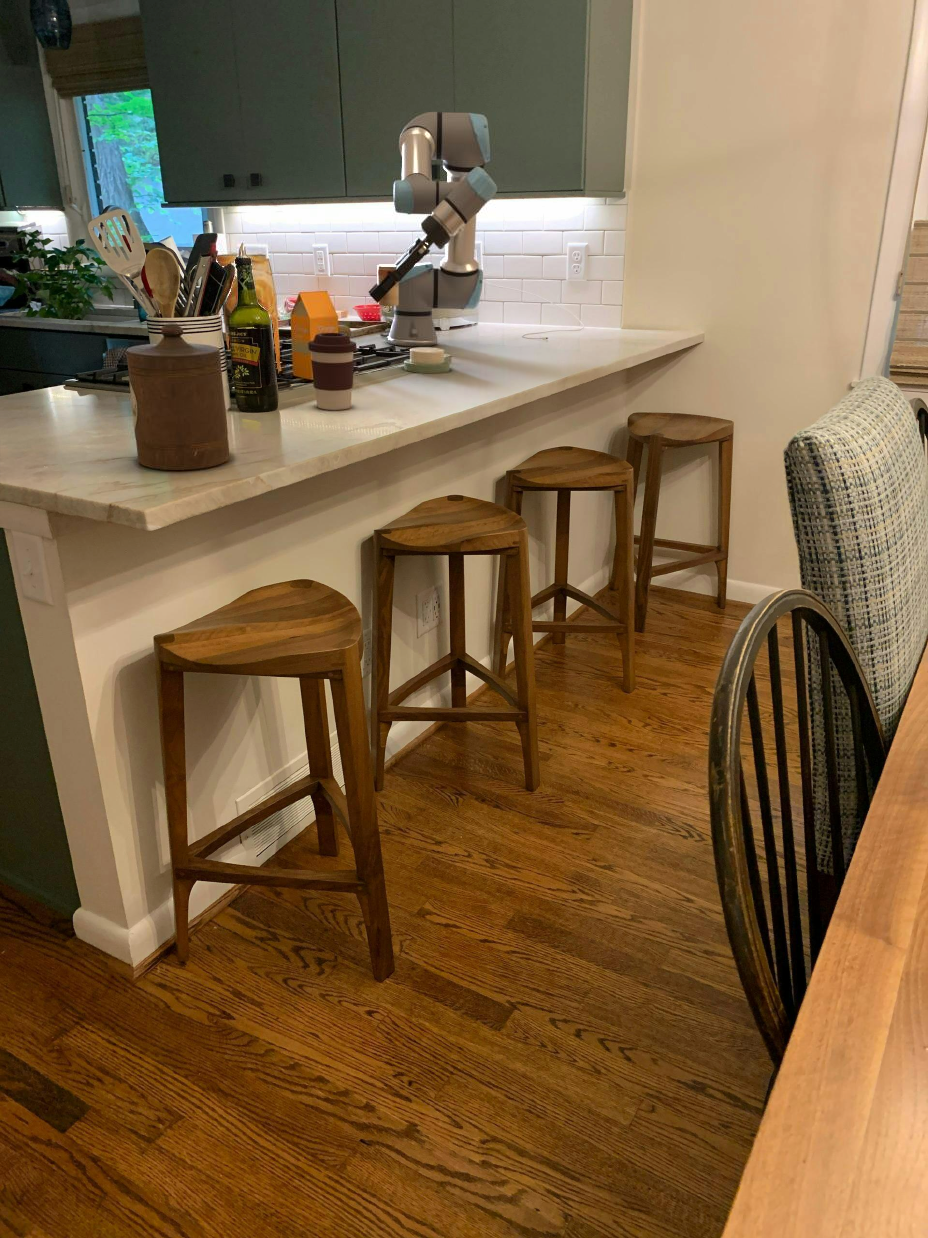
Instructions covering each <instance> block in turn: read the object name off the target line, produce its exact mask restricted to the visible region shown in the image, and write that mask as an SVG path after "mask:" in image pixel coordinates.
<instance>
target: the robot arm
mask: <svg viewBox="0 0 928 1238" xmlns="http://www.w3.org/2000/svg"><path fill="white" fill-rule="evenodd" d="M398 150H399V153H400V155H401V157H402V163H401V164H402V165H401V166H402V167H401V179H397V180H394V182H393V209H394V211H395V212H396V213H398V214H406V215H427V216H426V217H425V218H424V219H423V221H421V223H420V224H419V228H420V229H421V231H422V232H423V233H424V235H423V236H422V237H421V238H419V237H417V238H416V239H414V240H413V242H412V244H411V245H410V246H409V247H408V248H407V249H406V251H405V252H404V253H403V254H402V255H401V256H400V257H399V258H398V259H397V260H396V262H395V263H394V264H393V265H397V267H396V268H395V269H394V270H393V271H392V272H391V271H390V270H389V271H388V272H387V273H388V275H387V276H386V277H385V278H384V279H383V280H382V281H381V282H380V283H379V285H378V281H377V282H376V283H375V284H374V285H373V287H372V288H370V289H369V290H368V295H369V297H371V298H372V299H373V300H374V301H375V302H376V303H377V304H378V302H379V301H380V300H381V299H382V298H383V297H384V296H385V295H386V294H387V293H388V292H389V291H390V289H391V288H392V287H393V286H394V285H395V284H396V283H397V282H399V297H398V306H393V319H392V323H391V327H390V331H389V333H380V337H382V338H387V343H388V344H390V345H393V346H401V347H431V346H436V345H438V335H437V333H436V329H435V323H434V321H433V309H440V310H441V309H443V310H444V309H445V310H461V311H464V310H474V309H476V308H477V307H478V305H479V303H480V300H481V297H482V296H481V295H482V289H483V282H484V271H483V269H481V268H480V264H479V262H478V260H476V259H475V248H476V231H477V228H476V227H477V214H478V213H479V212H480V211H481V210H482V209H483V207H484V206H485V205H487V203H489V202H490V201H491V200H492V198H493V197H494V196H495V195H496V193H497V192H498V187H497V184H496V183H495V181H494V180H493V179H492V178H491V176H490V175H489V174H488V173H487V172H486V171H485V163H488V162H490V161H491V146H490V133H489V123H488V119H487V117H486V116H485V115H484V114H480V113H473V112H444V111H443V112H442V111H441V112H439V111H430V112H429V111H427V112H424V113H422V114H419V115H418V116H416V117H414V118H413V119H411V120H410V121H409V122H408V123H407V124H406V125H405V126H404V127H403V129H402V131H401V133H400V135H399V140H398ZM432 160H436V161H442V168H443V169H444V170H445V171H446V172H447V181H442V180H441V181H439V180H432V179H433V178H432V175H433V174H432V173H433V172H432V171H433V170H432ZM433 245H434V246H436V248H438V249H439V250H443V249H444V248H445V257H444V258H443V259H442V260H441V261H440V263H439V267H434V265H433V263H432V262H421V260H422V259H423V258H424V257H425V256H428V254H429V253H430V252H431V250H430V248H431V247H432V246H433ZM390 276H391V277H390Z"/></svg>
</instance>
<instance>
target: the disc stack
mask: <svg viewBox="0 0 928 1238" xmlns="http://www.w3.org/2000/svg"><path fill="white" fill-rule="evenodd" d="M403 364H404V365H403V366H404V367H403V370H405V371H407V372H411V373H417V374H418V373H420V374H441V373H447V372H450V366H451V365H450V364H451V363H450V361H449V360H448V359H447V360H446V359H445V349H443V348H438V347H430V346H418V347H412V348H410V349H409V358H408V359H404V361H403Z"/></svg>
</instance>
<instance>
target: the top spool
mask: <svg viewBox="0 0 928 1238" xmlns="http://www.w3.org/2000/svg"><path fill="white" fill-rule="evenodd" d="M396 267H397V265H394V264H378V265H377V270H376V271H377V272H376V275H377V282H378V285H379V283H380V282H381V281H382V280H383V279H384V278H385V277H386V276H387V275H388V273H387V272H388V271H389V270H390V271H391V272H392V271H393V270H394V269H395V268H396ZM390 277H391V276H390ZM398 297H399V282H397V283H396V284H395V285H394V286H393V287H392V288H391V289H390V291H389V292H388V293H387V294H386V295H385V296H384V297H383V298H382V299H381V300H380V301H379V302H378V303H377V305H378V306H382V307H394V306H398Z"/></svg>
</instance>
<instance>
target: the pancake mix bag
mask: <svg viewBox="0 0 928 1238" xmlns="http://www.w3.org/2000/svg"><path fill="white" fill-rule="evenodd" d="M238 254H239V253H231V254H229V253H228V254H227V253H226V254H217V261H218V263H219V264H220V265H221V266H227V265H228V264H230V263H234V261H235V259H236V257H237V255H238ZM245 255H246V256H247V257H248V258H250V259H251V260H252V270H253V277H254V282H255V289H256V295H257V300H258V303H259V304H260V305H261V306H262V307H264V308H265V309H266V311H267V312H268V313H269V314H270V316H271V320H272V324H273V333H274V342H275V353H276V361H277V368H278V373H277V374H280V372H281V371H282V366H281V358H280V357H281V352H280V336H279V335H280V334H279V333H280V332H279V312H278V302H277V294H276V287H275V282H274V277H273V271H272V267H271V262H270V258H267V255H266V254H263V253H262V254H259V253H258V254H245ZM237 302H238V284H237V277H236V276H235V279H234V281H233V284H232V288H231V292H230V294H229V296H228V298H227V301H226V302H225V305H224V313H223V314H224V318H223V322H224V329H225V339H226V340H225V341H226V346H227V350H228V351H229V336H228V334H229V318H230V315H231V313H232V311H233V310H234V308H235V307H236V305H237Z"/></svg>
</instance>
